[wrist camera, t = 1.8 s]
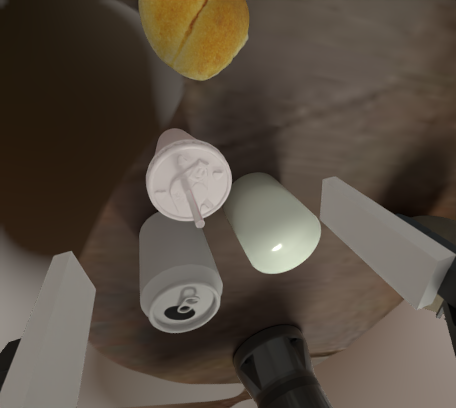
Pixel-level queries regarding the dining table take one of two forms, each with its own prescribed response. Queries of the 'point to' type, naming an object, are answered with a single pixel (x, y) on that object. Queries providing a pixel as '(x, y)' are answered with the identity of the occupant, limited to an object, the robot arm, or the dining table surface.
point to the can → (177, 275)
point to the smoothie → (187, 177)
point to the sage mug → (270, 223)
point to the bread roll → (195, 33)
